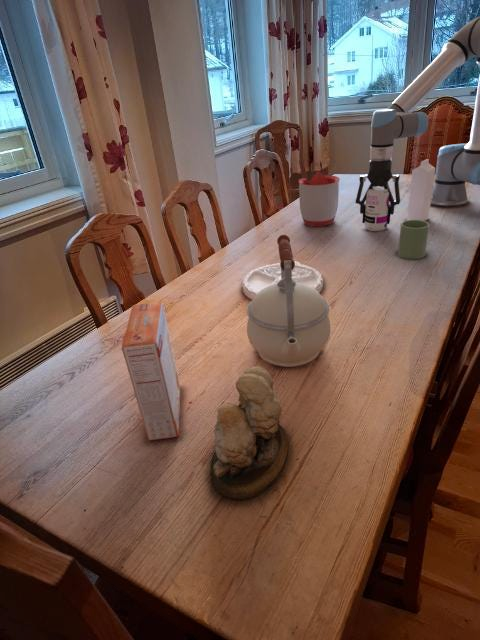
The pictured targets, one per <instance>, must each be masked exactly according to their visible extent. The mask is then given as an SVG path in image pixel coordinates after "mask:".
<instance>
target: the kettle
mask: <svg viewBox="0 0 480 640" xmlns="http://www.w3.org/2000/svg"><path fill="white" fill-rule="evenodd" d="M276 243H277V245H278V255H279V260H280V266H281V280H280V281H279V282H278V283H277V284H273V285H270V286H268V287H266V288H264V289H262V290H261V291H259V292H258V293H257V294H256V296H255V297H254V298H253V300H252V299H251V301H250V302H249V303H248V305H247V307H246V316H247V317H248V318H247V321H246V322H247V323H246V336H247V338H248V341H249V344H250V345H251V346H252V348H254V350H255V351H256V352H258V355H259V356H260V358H261V359H262V360H264V361H265V362H266V363H269V364H271V365H274V366H276V367H277V366H278V367H283V368H285V367H286V368H291V367H299V366H304V365H306V364H308V363H311V362H313V361H314V360H315V359H316V358H317V357H318V356H319V354H320V353H321V350H322V349H323V348H324V347H325V346H326V344H327V343H328V341H329V339H330V335H331V321H330V318H329V312H330V305H329V303H328V301H327V300H326V299H325V298H324V297H323V296H322V295H321V294H320V293H319V292H318V291H316V290H315V289H314V288H312V287H310V286H308V285H305V284H301V283H296V282H294V281H293V280H292V270H293V269H294V266H295V263H294V261H295V260H294V257H293V256H294V255H293V251H292V246H291V239H290V237H289V236H288V235H287V234H279V236H278V237H277V241H276Z"/></svg>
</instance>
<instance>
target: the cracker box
mask: <svg viewBox="0 0 480 640" xmlns="http://www.w3.org/2000/svg"><path fill="white" fill-rule="evenodd" d="M121 351H122V354H123V357H124V361H125V364H126V369H127V371H128V375H129V378H130V382H131V385H132V389H133V392H134V396H135V399H136V402H137V406H138V410H139V413H140V417H141V421H142V423H143V427H144V430H145V435H146V438H147V440H148V441H149V442H150V441H156V440H164V439H173V438H179V436H180V411H181V390H182V389H181V382H180V379H179V373H178V369H177V364H176V360H175V355H174V351H173V346H172V341H171V337H170V331H169V327H168V322H167V316H166V313H165V308H164V303H163V301H156V302H149V303H148V302H147V303H138V304H132V306H131V309H130V314H129V317H128V322H127V324H126V329H125V333H124V337H123V340H122V344H121Z"/></svg>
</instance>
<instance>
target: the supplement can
mask: <svg viewBox="0 0 480 640" xmlns="http://www.w3.org/2000/svg"><path fill="white" fill-rule="evenodd" d="M367 190H368V189H367ZM366 192H367V191H366ZM365 204H366V209H365V223H364V224H363V226H364V228H365V229H366V230H367V231H370V232H381V231H384V230H386V229H387V228H388V224H387V218H388V207H389V204H390V202H389V192H388V189H384V186H383V187H380V186H377V187H374V186H373V187H372V189H369V190H368V192H367V197H366V201H365Z"/></svg>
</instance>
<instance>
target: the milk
mask: <svg viewBox="0 0 480 640" xmlns="http://www.w3.org/2000/svg"><path fill="white" fill-rule="evenodd" d="M429 160H430V159H429V158H427V159H424V160H422V161H420V165H419V166H417V167H416V168H414V169H412V170H411V177H410V184H409V193H408V203H407V213H406V221H408V220H421V221H427V220H429V218H430V210H431V205H430V204H431V197H432V190H433V185H434V182H435V174H436V167H434V166H433V165H432V164H431V163H430V161H429Z"/></svg>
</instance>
